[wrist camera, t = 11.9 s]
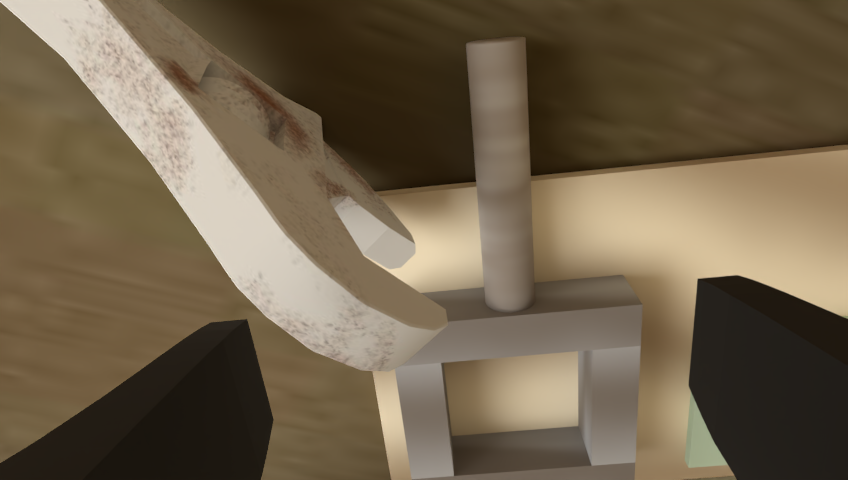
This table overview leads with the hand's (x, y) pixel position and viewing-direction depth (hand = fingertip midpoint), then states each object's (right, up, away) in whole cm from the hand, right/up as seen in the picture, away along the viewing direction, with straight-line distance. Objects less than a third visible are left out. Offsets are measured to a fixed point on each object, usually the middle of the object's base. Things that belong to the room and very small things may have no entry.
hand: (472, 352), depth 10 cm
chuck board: (+7, 0, +11) cm, 13 cm away
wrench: (-11, +11, +7) cm, 18 cm away
